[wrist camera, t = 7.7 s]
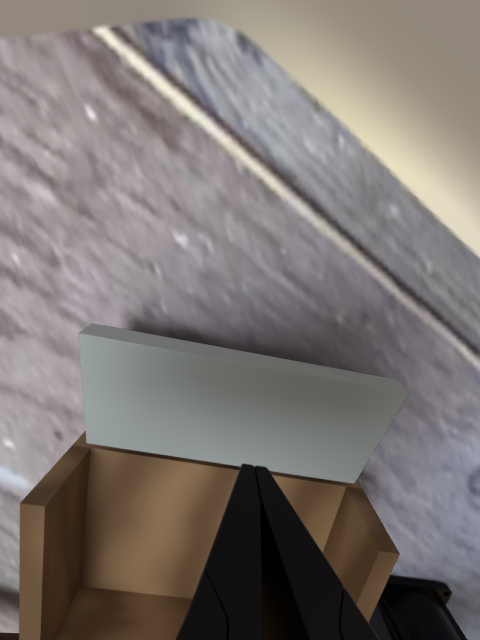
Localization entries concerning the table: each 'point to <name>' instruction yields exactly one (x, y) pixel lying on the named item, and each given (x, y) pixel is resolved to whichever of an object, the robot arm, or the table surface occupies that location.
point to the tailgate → (231, 405)
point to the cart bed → (162, 541)
